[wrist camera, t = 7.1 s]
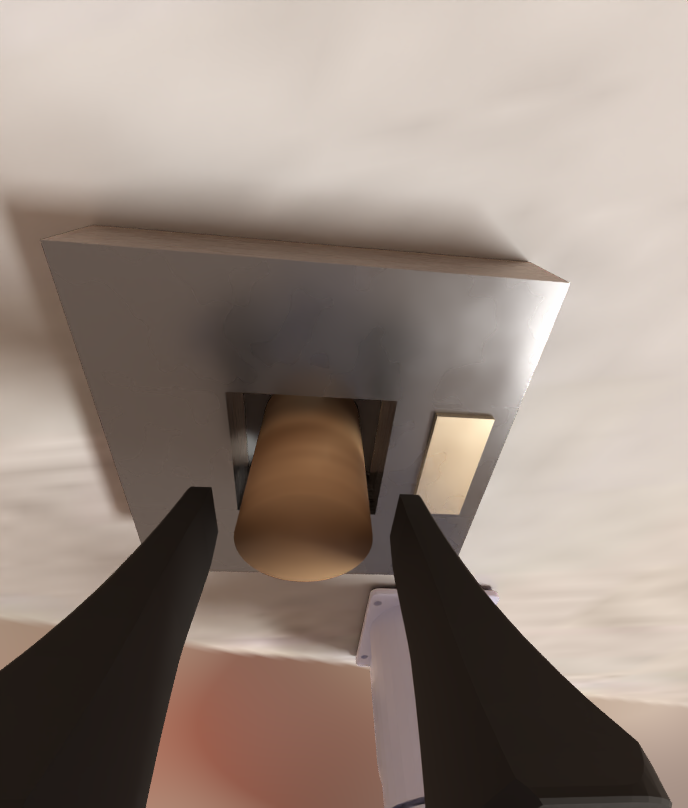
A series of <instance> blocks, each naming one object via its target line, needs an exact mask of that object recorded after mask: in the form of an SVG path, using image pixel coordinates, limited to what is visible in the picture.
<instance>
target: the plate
mask: <svg viewBox="0 0 688 808" xmlns="http://www.w3.org/2000/svg"><path fill="white" fill-rule="evenodd" d="M40 241H41V244H42V247H43V250H44V253H45V256H46V259H47V262H48V265H49V268H50V271H51V274H52V277H53V280H54V283H55V286H56V289H57V292H58V295H59V298H60V301H61V304H62V307H63V310H64V313H65V316H66V319H67V322H68V325H69V328H70V331H71V334H72V337H73V340H74V343H75V346H76V349H77V352H78V355H79V358H80V361H81V364H82V367H83V370H84V373H85V376H86V379H87V382H88V385H89V388H90V391H91V394H92V397H93V400H94V403H95V406H96V409H97V412H98V415H99V418H100V421H101V424H102V427H103V430H104V433H105V436H106V439H107V442H108V445H109V448H110V451H111V454H112V457H113V460H114V463H115V466H116V469H117V472H118V475H119V478H120V481H121V484H122V487H123V490H124V493H125V496H126V499H127V502H128V505H129V508H130V511H131V514H132V517H133V520H134V523H135V526H136V529H137V532H138V535H139V538H140V541H141V544H142V543H143V542H144V540H145V539H146V538H147V537H148V536H149V535H150V534H151V533H152V531H153V530H154V529H155V528H156V527H157V526H158V525H159V523H160V522H161V521H162V520H163V519H164V518H165V516H166V515H167V514H168V513H169V512H170V510H171V509H172V508H173V507H174V505H175V504H176V503H177V502H178V501H179V499H180V498H181V497H182V496H183V494H184V493H185V492H186V490H187V489H188V488H190V487H191V486H194V487H212V493H213V499H214V506H215V513H216V519H217V526H218V535H217V540H216V545H215V550H214V554H213V558H212V563H211V566H210V569H209V571H232V572H260V571H258V570H256V569H254V568H253V567H252V566H250V565H249V564H248V563H247V562H246V561H244V560H243V558H242V557H241V556H240V555H239V553H238V551H237V549H236V547H235V544H234V530H235V526H236V523H237V519H238V515H239V511H240V507H241V503H242V499H243V495H244V491H245V487H246V483H247V479H248V476H249V472H250V468H251V467H249V464H248V450H247V436H246V423H245V409H244V395H243V393H259V394H277V395H296V396H314V397H332V398H350V399H368V400H382V403H381V409H380V414H379V420H378V426H377V432H376V438H375V444H374V450H373V456H372V462H371V468H370V472H366V481H367V490H368V499H369V507H370V516H371V525H372V534H373V542H372V547H371V549H370V552H369V553H368V555H367V557H366V558H365V559H364V560H363V561H362V562H361V563H360V564H359V565H358V566H356V567H355V568H354V569H352V570H350V571H348V572H347V573H344V574H381V575H394V573H393V567H392V557H391V546H390V533H391V528H392V524H393V520H394V516H395V512H396V507H397V503H398V499H399V495H400V494H414V495H420V496H421V498H422V499H423V501H424V503H425V505H426V506H427V508H428V510H429V511H430V513H431V515H432V516H433V518H434V520H435V521H436V523H437V524H438V526H439V528H440V529H441V531H442V532H443V534H444V535H445V537H446V538H447V540H448V541H449V543H450V544H451V546H452V547H453V549H454V550H455V552H456V553H457V555H459V553H460V550H461V548H462V545H463V543H464V540H465V538H466V536H467V533H468V531H469V528H470V526H471V523H472V521H473V519H474V516H475V514H476V511H477V509H478V506H479V504H480V502H481V499H482V497H483V494H484V492H485V489H486V487H487V485H488V482H489V480H490V477H491V475H492V472H493V470H494V468H495V465H496V463H497V460H498V458H499V455H500V453H501V451H502V448H503V446H504V443H505V441H506V438H507V436H508V434H509V431H510V429H511V426H512V424H513V421H514V419H515V417H516V414H517V412H518V409H519V407H520V404H521V402H522V400H523V397H524V395H525V392H526V390H527V387H528V385H529V383H530V380H531V378H532V375H533V373H534V370H535V368H536V365H537V363H538V361H539V358H540V356H541V353H542V351H543V348H544V346H545V344H546V341H547V339H548V336H549V334H550V331H551V329H552V327H553V324H554V322H555V319H556V317H557V314H558V312H559V310H560V307H561V305H562V302H563V300H564V297H565V295H566V293H567V290H568V288H569V285H570V283H569V282H567V281H566V280H564V279H562V278H560V277H558V276H556V275H554V274H552V273H550V272H548V271H546V270H544V269H542V268H540V267H539V266H537V265H535V264H533V263H531V262H522V261H510V260H499V259H487V258H475V257H464V256H452V255H440V254H428V253H417V252H405V251H393V250H381V249H370V248H358V247H346V246H335V245H323V244H311V243H299V242H288V241H276V240H264V239H253V238H241V237H229V236H217V235H206V234H194V233H182V232H171V231H159V230H147V229H135V228H124V227H112V226H100V225H91V226H87V227H83V228H80V229H76V230H73V231H69V232H66V233H62V234H59V235H55V236H52V237H48V238H44V239H41V240H40Z"/></svg>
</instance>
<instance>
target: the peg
mask: <svg viewBox="0 0 688 808" xmlns="http://www.w3.org/2000/svg"><path fill="white" fill-rule="evenodd" d="M372 542H373V534H372V525H371V516H370V507H369V499H368V490H367V481H366V472H365V464H364V455H363V446H362V437H361V429H360V420H359V413H358V409H357V406H356V404H355V402H354V401H353V399H350V398H332V397H314V396H296V395H277V394H274V395H273V396H272V397H271V398H270V400H269V401H268V404H267V406H266V409H265V413H264V417H263V421H262V425H261V429H260V432H259V436H258V440H257V444H256V448H255V452H254V456H253V460H252V464H251V468H250V472H249V476H248V479H247V483H246V487H245V491H244V495H243V499H242V503H241V507H240V511H239V515H238V519H237V523H236V526H235V530H234V544H235V547H236V549H237V551H238V553H239V555H240V556H241V557H242V558H243V560H244V561H246V562H247V563H248V564H249V565H250V566H252V567H253V568H254V569H256V570H258V571H260V572H262V573H264V574H266V575H269V576H272V577H275V578H279V579H283V580H289V581H298V582H310V581H320V580H326V579H330V578H334V577H337V576H340V575H342V574H344V573H347V572H348V571H350V570H352V569H354V568H355V567H356V566H358V565H359V564H360V563H361V562H362V561H363V560H364V559H365V558H366V557H367V555H368V553H369V552H370V549H371V547H372Z"/></svg>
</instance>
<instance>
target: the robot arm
mask: <svg viewBox="0 0 688 808" xmlns="http://www.w3.org/2000/svg"><path fill="white" fill-rule="evenodd" d="M217 535H218V526H217V519H216V513H215V506H214V499H213V493H212V487H194V486H191V487H190V488H188V489H187V490H186V492H185V493H184V494H183V496H182V497H181V498H180V499H179V501H178V502H177V503H176V504H175V505H174V507H173V508H172V509H171V510H170V512H169V513H168V514H167V515H166V516H165V518H164V519H163V520H162V521H161V522H160V523H159V525H158V526H157V527H156V528H155V529H154V530H153V531H152V533H151V534H150V535H149V536H148V537H147V538H146V539H145V540H144V542H143V543H142V544H141V545H140V546H139V547H138V548H137V549H136V550H135V551H134V553H133V554H132V555H131V556H130V557H129V558H128V559H127V560H126V561H125V562H124V563H123V564H122V565H121V566H120V567H119V568H118V569H117V570H116V571H115V572H114V573H113V574H112V575H111V576H110V577H109V578H108V579H107V580H106V581H105V582H104V583H103V584H102V585H101V586H100V587H99V588H98V589H97V590H96V591H95V592H94V593H93V594H91V595H90V596H89V597H88V598H87V599H86V600H85V601H84V602H83V603H82V604H81V605H79V606H78V607H77V608H76V609H75V610H74V611H73V612H72V613H71V614H69V615H68V616H67V617H66V618H65V619H64V620H62V621H61V622H60V623H59V624H58V625H56V626H55V627H54V628H53V629H52V630H51V631H49V632H48V633H47V634H46V635H45V636H44V637H42V638H41V639H40V640H39V641H37V642H36V643H35V644H34V645H33V646H31V647H30V648H29V649H28V650H26V651H25V652H24V653H23V654H21V655H20V656H19V657H17V658H16V659H15V660H14V661H12V662H11V663H9V664H8V665H7V666H6V667H4V668H3V669H2V670H0V808H146V803H147V798H148V793H149V788H150V784H151V779H152V775H153V770H154V766H155V761H156V756H157V752H158V747H159V743H160V738H161V734H162V729H163V725H164V721H165V717H166V712H167V708H168V704H169V700H170V696H171V692H172V688H173V684H174V680H175V675H176V671H177V667H178V663H179V660H180V656H181V653H182V650H183V646H184V643H185V640H186V637H187V634H188V631H189V628H190V625H191V622H192V619H193V617H194V614H195V611H196V608H197V605H198V602H199V599H200V596H201V593H202V590H203V587H204V584H205V581H206V578H207V575H208V572H209V569H210V566H211V563H212V558H213V554H214V550H215V545H216V540H217ZM390 546H391V557H392V567H393V573H394V578H395V583H396V588H397V589H389V588H377V589H374V590H372V591H371V592H370V596H369V600H368V605H367V609H366V614H365V618H364V623H363V627H362V632H361V636H360V641H359V645H358V650H357V654H356V664H357V665H358V666H370V675H371V686H372V700H373V713H374V724H375V738H376V751H377V763H378V770H379V775H380V779H381V782H382V785H383V797H384V807H385V808H671V807H672V803H671V801H670V799H669V797H668V795H667V793H666V791H665V790H664V788H663V786H662V784H661V782H660V780H659V778H658V776H657V774H656V772H655V770H654V768H653V766H652V764H651V763H650V761H649V759H648V758H647V756H646V755H645V753H644V751H643V749H642V748H641V746H640V744H639V743H638V742H637V741H636V740H635V739H634V738H633V737H632V736H630V735H629V734H628V733H627V732H626V731H625V730H623V729H622V728H621V727H620V726H619V725H618V724H616V723H615V722H614V721H613V720H612V719H610V718H609V717H608V716H607V715H606V714H605V713H603V712H602V711H601V710H600V709H599V708H598V707H596V706H595V705H594V704H593V703H592V702H591V701H590V700H588V699H587V698H586V697H585V696H584V695H583V694H582V693H581V692H580V691H579V690H578V689H577V688H575V687H574V686H573V685H572V684H571V683H570V682H569V681H568V680H567V679H566V678H565V677H564V676H563V675H562V674H560V672H559V671H558V670H557V669H556V668H555V667H554V666H553V665H552V664H551V663H550V662H549V661H548V660H547V659H546V658H545V657H544V656H543V655H542V654H541V653H540V652H539V651H538V650H537V649H536V648H535V647H534V646H533V645H532V644H531V643H530V642H529V641H528V640H527V639H526V638H525V637H524V636H523V635H522V634H521V633H520V632H519V631H518V629H517V628H516V627H515V626H514V625H513V624H512V623H511V622H510V621H509V620H508V618H507V617H506V616H505V615H504V614H503V613H502V611H501V610H500V609H499V608H498V607H497V606H496V604H497V603H498V601H499V596H498V593H497V592H496V591H493V590H483V588H482V587H481V586H480V585H479V583H478V582H477V581H476V579H475V578H474V577H473V575H472V574H471V573H470V571H469V570H468V569H467V567H466V566H465V565H464V563H463V562H462V560H461V559H460V557H459V556H458V555H457V553H456V552H455V550H454V549H453V547H452V546H451V544H450V543H449V541H448V540H447V538H446V537H445V535H444V534H443V532H442V531H441V529H440V528H439V526H438V524H437V523H436V521H435V520H434V518H433V516H432V515H431V513H430V511H429V510H428V508H427V506H426V505H425V503H424V501H423V499H422V498H421V496H420V495H414V494H400V495H399V499H398V503H397V507H396V512H395V516H394V520H393V524H392V528H391V533H390Z"/></svg>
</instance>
